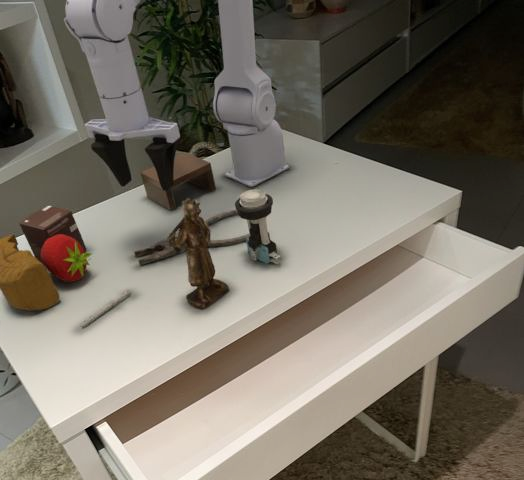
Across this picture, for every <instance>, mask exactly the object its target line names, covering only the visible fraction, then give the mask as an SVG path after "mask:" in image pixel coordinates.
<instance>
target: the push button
mask: <svg viewBox="0 0 524 480" xmlns="http://www.w3.org/2000/svg"><path fill="white" fill-rule="evenodd" d="M273 199H274V198H273V196H271V195H270V194H267V193H266V191H264V190H262V189H258V188H257V189H249V190H245V191H244V192H242V193H241V194H240V197H239V198H238V199H237V200H235V202H234V209H236V210H237V211H238V213H237V215H238V217H239V218H240V219H243V220H245V221H246V223H247V227H248V234H249V236H250V237H249V238H247V239H246V240H245V242H246V248H247V253H248V254H249V255H251V258H252V260H254V261H257V260H258V261H261V262H262V263H264V264H269V263H274V264H276V265H278V264H280V263H281V260H280V259H279V258H280V257H281V255H279V254H277V253H278V248H277V243H276V242H275V241H273V240H272V239H271V236H270V233H269V230H268V224H267V217H268V216H270V215H271V214H272V207H273V205H274V200H273Z"/></svg>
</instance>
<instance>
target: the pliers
mask: <svg viewBox="0 0 524 480" xmlns="http://www.w3.org/2000/svg"><path fill="white" fill-rule="evenodd" d="M232 215H238V211H237V210H236V208H234V209H231V210H227V211H223V212H221V213H217V214H215V215H213V216H211V217H209V218H207V219H206V220H205V222H206V224H207V225H208V226H210V224H212V223H214V222H217V221H218V220H220V219H223V218H225V217H229V216H232ZM249 237H250V236H249V233H247V234H243V235H241V236H236V237H233V238H228V239H227V238H225V239H210V243H209V247H216V246H226V245H234V244H237V243H240V242H243V241H246V239H247V238H249ZM176 239H177V236H175V241H176ZM159 250H161V251H159ZM182 252H187V246H186V242H185V244H184V246H183V249H182V250H181V251H180V252H179V253H182ZM133 254H134V257H136V258H138V257H141V258H139V259H137V262H138V264H139V265H140V266H142V265H145V264H148V263H152V262H156V261H159V260H162V259H165V258H169V257H172V256H174V255H177V254H178V253H176V251H175V250H174V248H173V246H172V245H171V244H170V243H169V242H168V240H167V239H165V240H162V241H159V242H156V243H154V244H150V245H148V246H145V247H142V248H140V249H137V250H135V251H133ZM148 254H149V255H148ZM142 256H143V257H142Z"/></svg>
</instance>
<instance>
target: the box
mask: <svg viewBox="0 0 524 480" xmlns="http://www.w3.org/2000/svg"><path fill="white" fill-rule="evenodd" d="M18 224H19V226H20V229H21V231H22V233H23V235H24V237H25V239H26V241H27V243H28V246H29V247H30V250H31V253H32V255H33V256H34V257H36V258H37V259H38V261H40V262H41V263H42V264H43V262H42V259H41V250H42V247H43V245H44V243H45V241H46V240H47V239H49V238H51V237H53V236H55V235H58V234H63V235H66V236H69V237H72V238H73V239H75V240H76V241H77V242H78V243H79V244H80V245H81V247H82V248H83V250H84V253H86V251H87V246H86V244H85V242H84V239H83V236H82V234H81V232H80V230H79V227H78V224H77V222H76V219H75V217H74V215H73V212H72V210H69V209H65V208H60V207H57V206H52V205H46V206H44V207H42V208H41V209H39V210H37V211H35V212H33V213H31V214H30V215H28V216H27V217H25V218H24V219H23V220H21V221H19V222H18Z"/></svg>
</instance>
